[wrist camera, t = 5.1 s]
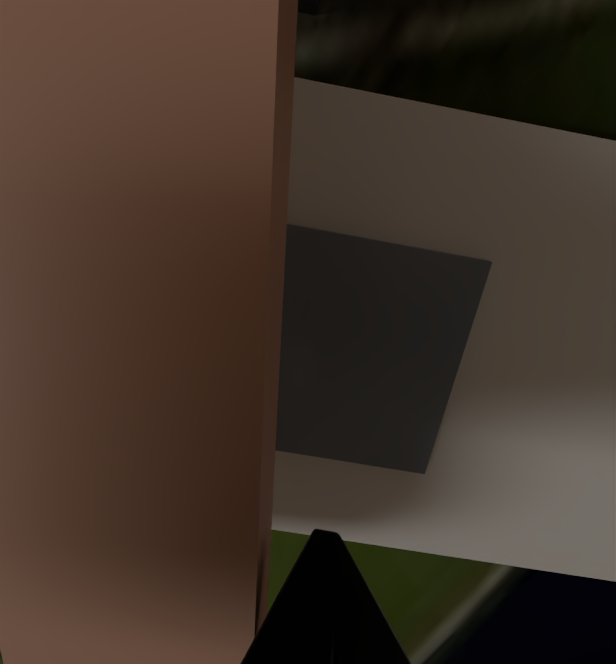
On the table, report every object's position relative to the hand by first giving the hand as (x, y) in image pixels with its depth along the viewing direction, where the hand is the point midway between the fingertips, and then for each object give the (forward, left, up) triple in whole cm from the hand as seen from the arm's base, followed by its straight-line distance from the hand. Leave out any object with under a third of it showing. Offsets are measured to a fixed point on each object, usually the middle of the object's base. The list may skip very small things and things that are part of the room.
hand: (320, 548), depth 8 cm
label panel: (+2, -7, -5) cm, 9 cm away
